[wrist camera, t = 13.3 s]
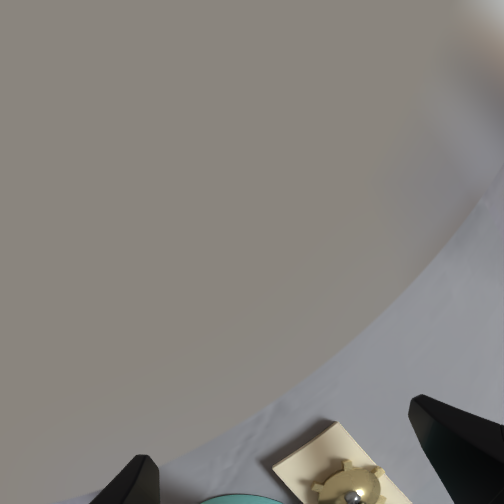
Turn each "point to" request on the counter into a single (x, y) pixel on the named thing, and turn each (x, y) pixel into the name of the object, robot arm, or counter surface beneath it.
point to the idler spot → (241, 500)
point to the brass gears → (350, 486)
